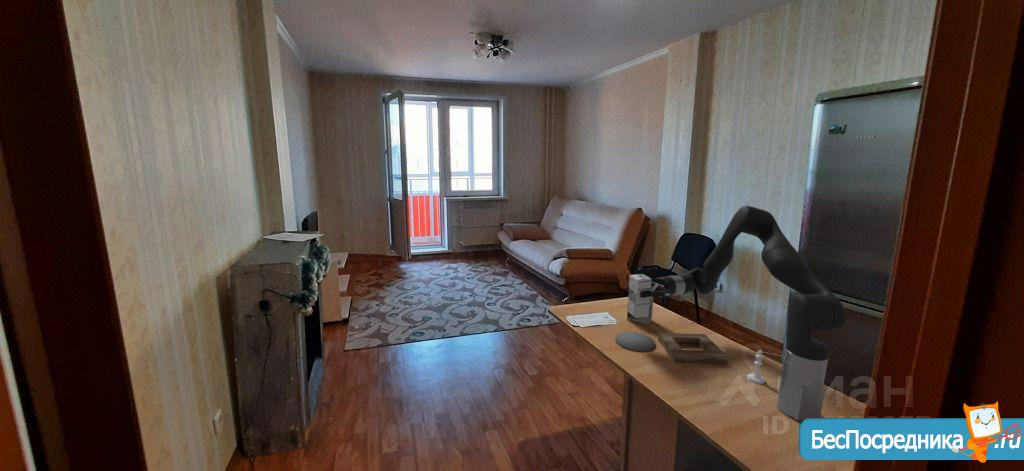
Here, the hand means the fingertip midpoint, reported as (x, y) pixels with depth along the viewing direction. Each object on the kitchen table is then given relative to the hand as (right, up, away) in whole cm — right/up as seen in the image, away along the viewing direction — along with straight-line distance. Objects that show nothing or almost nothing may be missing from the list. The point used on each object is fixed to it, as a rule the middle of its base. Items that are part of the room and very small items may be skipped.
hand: (634, 291), depth 147 cm
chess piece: (+32, -25, -19) cm, 45 cm away
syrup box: (+2, -9, +3) cm, 10 cm away
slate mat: (+2, -19, +5) cm, 20 cm away
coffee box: (+10, -16, +26) cm, 32 cm away
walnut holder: (+19, -21, -2) cm, 29 cm away
